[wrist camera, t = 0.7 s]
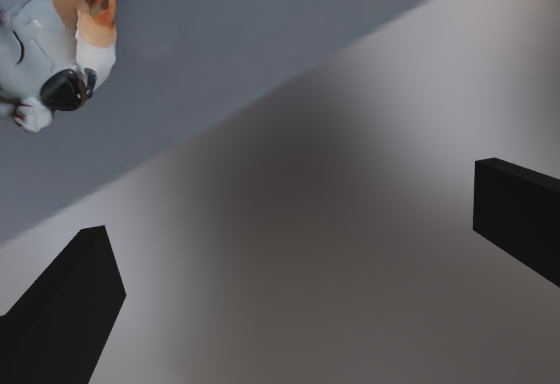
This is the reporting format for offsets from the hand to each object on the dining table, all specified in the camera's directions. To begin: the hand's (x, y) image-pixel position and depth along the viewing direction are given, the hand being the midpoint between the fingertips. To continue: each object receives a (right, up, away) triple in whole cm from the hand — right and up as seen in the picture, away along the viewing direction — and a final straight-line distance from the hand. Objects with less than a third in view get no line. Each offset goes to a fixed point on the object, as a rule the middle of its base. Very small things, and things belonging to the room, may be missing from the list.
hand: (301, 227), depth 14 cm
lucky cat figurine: (-21, +16, +18) cm, 32 cm away
